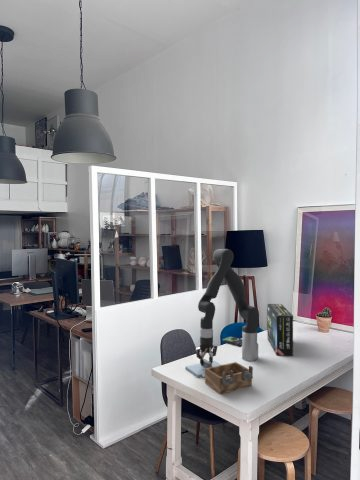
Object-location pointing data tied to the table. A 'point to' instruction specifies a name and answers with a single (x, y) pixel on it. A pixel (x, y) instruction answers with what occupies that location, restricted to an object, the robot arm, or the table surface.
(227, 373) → the brown wooden open box
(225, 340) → the disk drive
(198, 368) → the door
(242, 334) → the robot arm
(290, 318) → the router box
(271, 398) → the table surface
